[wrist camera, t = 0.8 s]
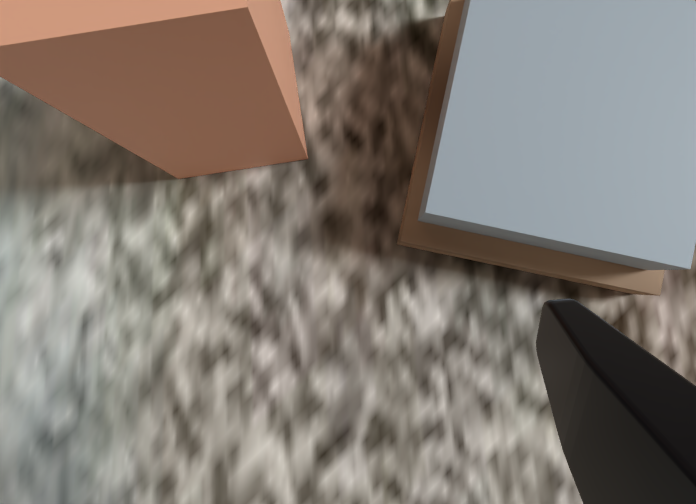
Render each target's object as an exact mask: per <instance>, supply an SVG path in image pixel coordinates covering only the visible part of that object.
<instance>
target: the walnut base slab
mask: <svg viewBox="0 0 696 504" xmlns="http://www.w3.org/2000/svg"><path fill="white" fill-rule="evenodd" d="M464 1H465V0H450V1H449V4H448V7H447V10H446V13H445V16H444V21H443V26H442V30H441V35H440V40H439V45H438V50H437V54H436V59H435V64H434V69H433V73H432V78H431V83H430V88H429V93H428V97H427V102H426V107H425V112H424V117H423V121H422V126H421V131H420V136H419V140H418V145H417V150H416V155H415V160H414V164H413V169H412V174H411V179H410V183H409V188H408V193H407V198H406V203H405V207H404V212H403V217H402V222H401V227H400V231H399V236H398V241H397V244H398V245H402V246H407V247H412V248H417V249H421V250H426V251H431V252H435V253H440V254H445V255H450V256H454V257H459V258H464V259H469V260H473V261H478V262H483V263H488V264H492V265H497V266H502V267H507V268H511V269H516V270H521V271H526V272H530V273H535V274H540V275H545V276H549V277H554V278H559V279H564V280H568V281H573V282H578V283H583V284H587V285H592V286H597V287H601V288H606V289H611V290H616V291H620V292H625V293H630V294H640V295H660V293H661V287H662V282H663V277H664V271H665V270H644V269H639V268H635V267H630V266H626V265H621V264H616V263H612V262H607V261H602V260H598V259H593V258H588V257H584V256H579V255H574V254H570V253H565V252H560V251H556V250H551V249H546V248H542V247H537V246H532V245H528V244H523V243H518V242H514V241H509V240H504V239H500V238H495V237H490V236H486V235H481V234H476V233H472V232H467V231H462V230H458V229H453V228H449V227H444V226H439V225H435V224H430V223H425V222H421V221H418V216H419V211H420V207H421V202H422V197H423V193H424V188H425V183H426V179H427V174H428V169H429V165H430V160H431V155H432V151H433V146H434V141H435V137H436V132H437V127H438V123H439V118H440V113H441V109H442V104H443V99H444V95H445V90H446V85H447V81H448V76H449V71H450V67H451V62H452V57H453V53H454V48H455V43H456V39H457V34H458V29H459V25H460V20H461V15H462V11H463V6H464Z"/></svg>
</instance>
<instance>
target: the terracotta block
mask: <svg viewBox="0 0 696 504" xmlns="http://www.w3.org/2000/svg"><path fill="white" fill-rule="evenodd" d="M0 77H2V78H4V79H5V80H7V81H9V82H11V83H12V84H14V85H16V86H18V87H19V88H21V89H23V90H25V91H26V92H28V93H30V94H32V95H33V96H35V97H37V98H38V99H40V100H42V101H44V102H45V103H47V104H49V105H51V106H52V107H54V108H56V109H58V110H59V111H61V112H63V113H65V114H66V115H68V116H70V117H72V118H73V119H75V120H77V121H79V122H80V123H82V124H84V125H85V126H87V127H89V128H91V129H92V130H94V131H96V132H98V133H99V134H101V135H103V136H105V137H106V138H108V139H110V140H112V141H113V142H115V143H117V144H119V145H120V146H122V147H124V148H126V149H127V150H129V151H131V152H132V153H134V154H136V155H138V156H139V157H141V158H143V159H145V160H146V161H148V162H150V163H152V164H153V165H155V166H157V167H159V168H160V169H162V170H164V171H166V172H167V173H169V174H171V175H173V176H174V177H176V178H178V179H182V178H189V177H195V176H201V175H208V174H214V173H221V172H227V171H234V170H240V169H247V168H253V167H259V166H266V165H272V164H279V163H285V162H292V161H298V160H304V159H308V156H307V149H306V142H305V136H304V129H303V122H302V116H301V109H300V103H299V96H298V89H297V83H296V76H295V70H294V63H293V56H292V50H291V43H290V37H289V31H288V27H287V24H286V20H285V16H284V13H283V9H282V5H281V2H280V0H0Z"/></svg>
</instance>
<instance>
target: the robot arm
mask: <svg viewBox="0 0 696 504" xmlns="http://www.w3.org/2000/svg"><path fill="white" fill-rule="evenodd" d="M536 350H537V356H538V360H539V364H540V367H541V371H542V375H543V379H544V382H545V386H546V390H547V394H548V397H549V401H550V405H551V409H552V413H553V416H554V420H555V424H556V428H557V431H558V435H559V439H560V442H561V445H562V449H563V452H564V454H565V457H566V460H567V463H568V466H569V468H570V471H571V473H572V476H573V478H574V481H575V483H576V486H577V488H578V491H579V493H580V496H581V499H582V501H583V504H696V386H695V385H694V384H692V383H691V382H690V381H688V380H687V379H685V378H684V377H683V376H681V375H680V374H678V373H677V372H676V371H674V370H673V369H671V368H670V367H669V366H667V365H666V364H664V363H663V362H662V361H660V360H659V359H657V358H656V357H655V356H653V355H652V354H650V353H649V352H648V351H646V350H645V349H643V348H642V347H641V346H639V345H638V344H636V343H635V342H634V341H632V340H631V339H629V338H628V337H627V336H625V335H624V334H623V333H621V332H620V331H618V330H617V329H616V328H614V327H613V326H611V325H610V324H609V323H607V322H606V321H604V320H603V319H602V318H600V317H599V316H597V315H596V314H595V313H593V312H592V311H590V310H589V309H588V308H586V307H585V306H583V305H582V304H581V303H579V302H578V301H576V300H574V299H558V300H549V301H546V302H545V303H544V305H543V307H542V311H541V317H540V323H539V328H538V334H537V340H536Z"/></svg>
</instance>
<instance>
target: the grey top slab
mask: <svg viewBox="0 0 696 504" xmlns="http://www.w3.org/2000/svg"><path fill="white" fill-rule="evenodd" d="M418 221H421V222H425V223H430V224H435V225H439V226H444V227H449V228H453V229H458V230H462V231H467V232H472V233H476V234H481V235H486V236H490V237H495V238H500V239H504V240H509V241H514V242H518V243H523V244H528V245H532V246H537V247H542V248H546V249H551V250H556V251H560V252H565V253H570V254H574V255H579V256H584V257H588V258H593V259H598V260H602V261H607V262H612V263H616V264H621V265H626V266H630V267H635V268H639V269H644V270H677V269H691V264H692V258H693V253H694V248H695V243H696V1H692V0H465V1H464V6H463V11H462V15H461V20H460V25H459V29H458V34H457V39H456V43H455V48H454V53H453V57H452V62H451V67H450V71H449V76H448V81H447V85H446V90H445V95H444V99H443V104H442V109H441V113H440V118H439V123H438V127H437V132H436V137H435V141H434V146H433V151H432V155H431V160H430V165H429V169H428V174H427V179H426V183H425V188H424V193H423V197H422V202H421V207H420V211H419V216H418Z"/></svg>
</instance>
